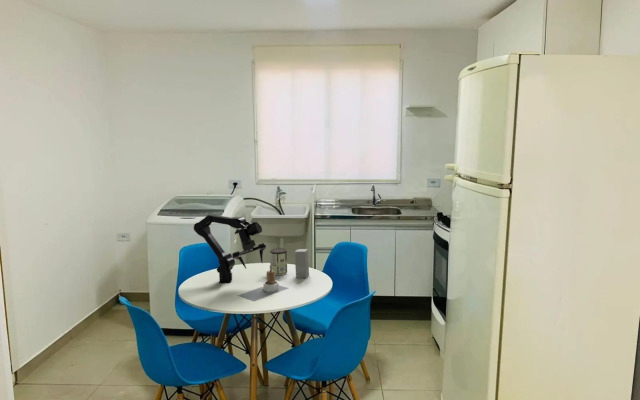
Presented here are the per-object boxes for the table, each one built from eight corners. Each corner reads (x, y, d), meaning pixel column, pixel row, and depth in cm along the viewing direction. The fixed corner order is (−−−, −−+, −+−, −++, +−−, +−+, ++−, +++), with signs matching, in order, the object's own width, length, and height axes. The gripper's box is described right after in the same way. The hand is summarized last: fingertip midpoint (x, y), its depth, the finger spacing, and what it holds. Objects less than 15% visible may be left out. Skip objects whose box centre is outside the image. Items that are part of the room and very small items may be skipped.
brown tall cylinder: (266, 290, 232) (266, 266, 230) (267, 287, 236) (266, 264, 235) (275, 290, 232) (274, 266, 230) (275, 287, 236) (275, 264, 235)
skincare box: (306, 278, 255) (305, 251, 253) (294, 277, 256) (294, 251, 254) (309, 274, 263) (309, 248, 261) (298, 273, 265) (297, 248, 263)
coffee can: (277, 269, 274) (276, 247, 272) (290, 272, 269) (290, 249, 267) (266, 273, 265) (266, 250, 264) (280, 276, 260) (279, 253, 258)
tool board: (254, 303, 216) (253, 294, 216) (236, 297, 224) (236, 289, 224) (289, 289, 235) (289, 281, 235) (272, 285, 244) (271, 277, 243)
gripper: (227, 242, 234) (236, 270, 231) (261, 231, 237) (270, 259, 234) (229, 244, 245) (238, 271, 242) (262, 234, 248) (270, 260, 245)
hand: (254, 265), depth 240 cm, fingers open, 9 cm apart
